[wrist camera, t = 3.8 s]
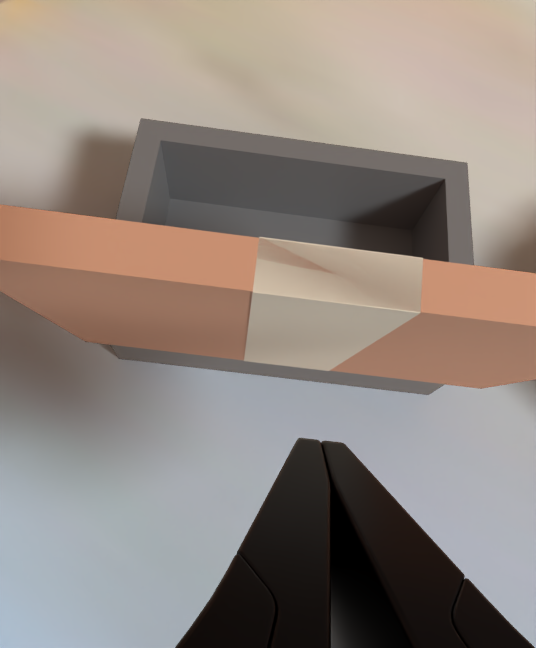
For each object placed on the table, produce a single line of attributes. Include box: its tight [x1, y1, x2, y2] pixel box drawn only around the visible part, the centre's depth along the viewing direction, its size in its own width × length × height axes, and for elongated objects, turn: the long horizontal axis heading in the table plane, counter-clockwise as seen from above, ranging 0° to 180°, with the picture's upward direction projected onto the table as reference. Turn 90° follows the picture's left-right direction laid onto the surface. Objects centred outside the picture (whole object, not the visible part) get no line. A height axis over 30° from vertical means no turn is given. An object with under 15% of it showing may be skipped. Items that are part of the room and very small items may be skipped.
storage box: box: [111, 118, 474, 395], centre depth 22 cm, size 9×14×5 cm, turn 84°
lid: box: [0, 205, 536, 389], centre depth 13 cm, size 9×14×1 cm
